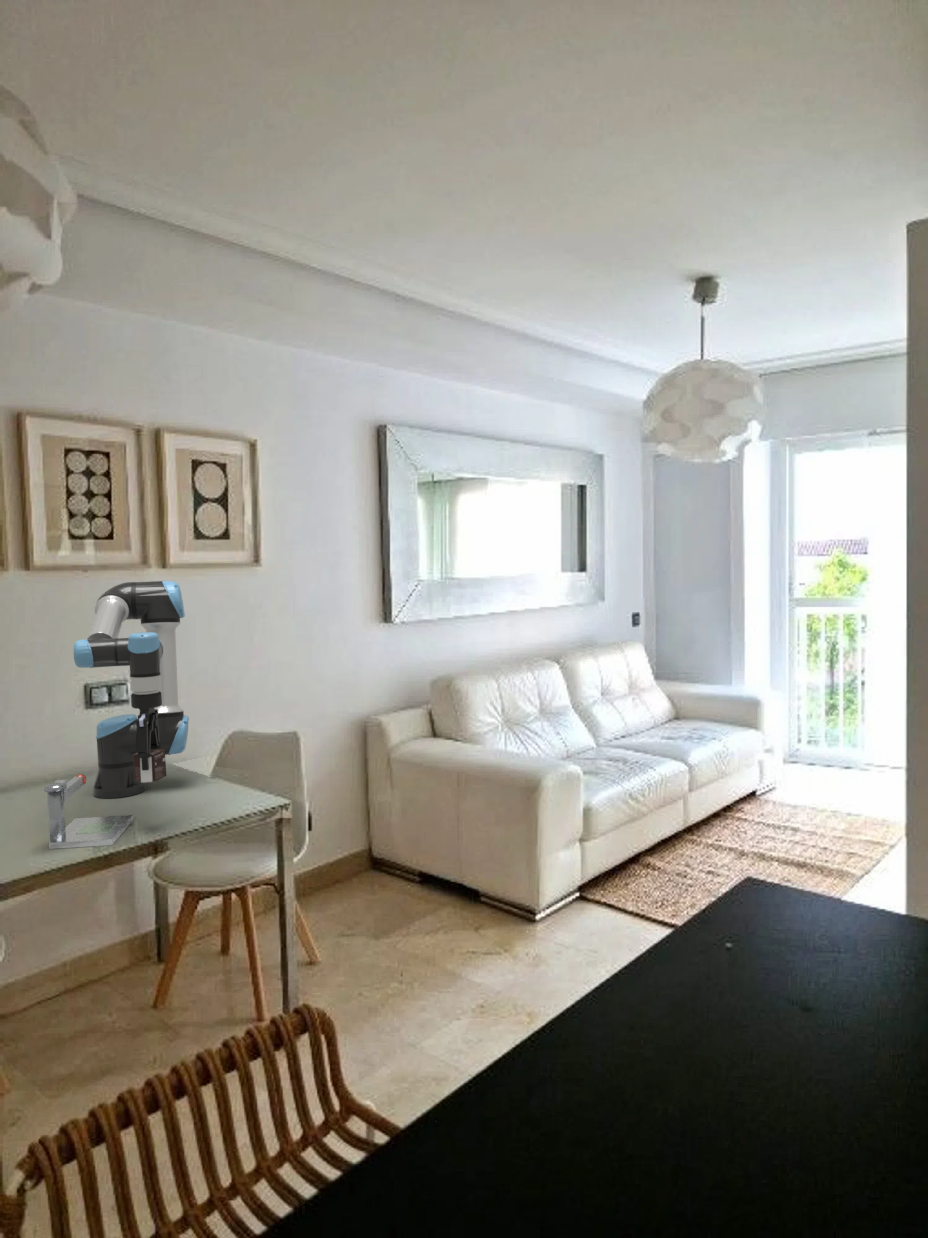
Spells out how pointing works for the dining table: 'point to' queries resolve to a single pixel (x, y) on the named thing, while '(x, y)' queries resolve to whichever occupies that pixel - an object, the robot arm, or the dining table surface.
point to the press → (82, 827)
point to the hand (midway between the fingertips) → (150, 777)
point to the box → (157, 765)
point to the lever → (66, 786)
